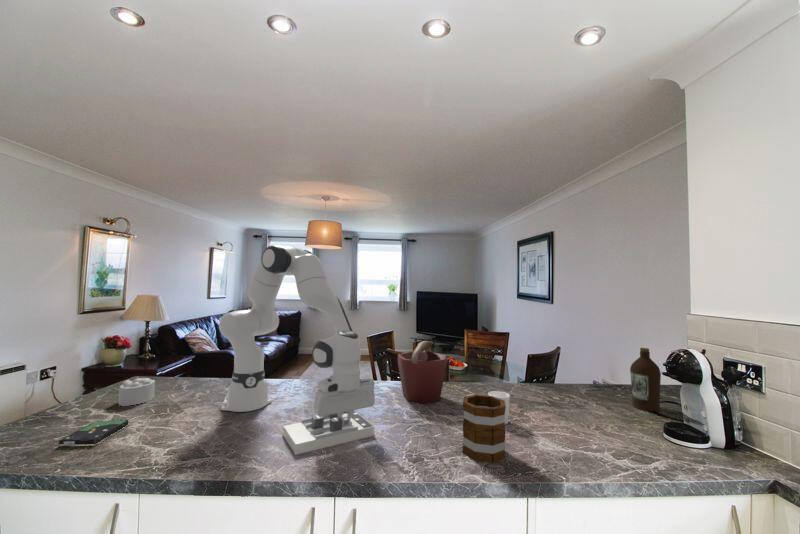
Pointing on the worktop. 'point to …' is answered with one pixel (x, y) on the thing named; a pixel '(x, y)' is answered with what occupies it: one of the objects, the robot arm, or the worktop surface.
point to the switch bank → (325, 433)
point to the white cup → (504, 397)
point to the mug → (484, 428)
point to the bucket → (422, 374)
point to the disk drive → (94, 432)
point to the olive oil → (645, 382)
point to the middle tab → (317, 422)
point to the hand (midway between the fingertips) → (345, 424)
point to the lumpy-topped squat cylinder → (136, 391)
